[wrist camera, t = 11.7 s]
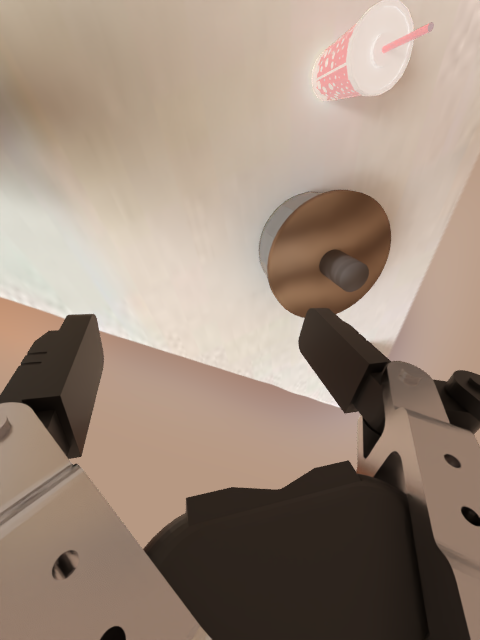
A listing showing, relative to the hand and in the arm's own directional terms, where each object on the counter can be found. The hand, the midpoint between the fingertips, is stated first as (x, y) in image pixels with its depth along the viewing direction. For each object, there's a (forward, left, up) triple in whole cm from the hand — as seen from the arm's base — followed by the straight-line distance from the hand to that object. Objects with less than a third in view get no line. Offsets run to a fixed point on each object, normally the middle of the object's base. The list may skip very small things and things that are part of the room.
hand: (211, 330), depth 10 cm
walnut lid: (+13, +15, -22) cm, 29 cm away
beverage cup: (-5, +23, -29) cm, 37 cm away
